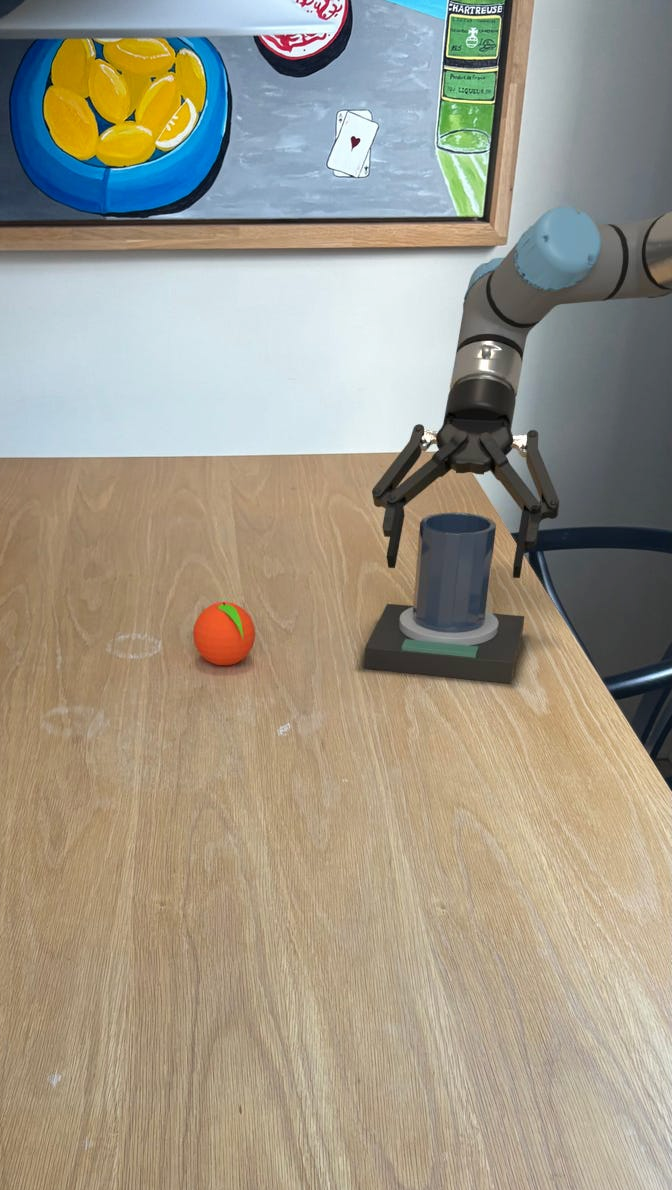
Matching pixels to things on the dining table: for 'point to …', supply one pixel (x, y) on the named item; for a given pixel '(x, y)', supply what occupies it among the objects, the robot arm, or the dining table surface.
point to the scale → (445, 647)
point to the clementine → (224, 633)
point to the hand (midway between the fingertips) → (452, 567)
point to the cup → (453, 571)
